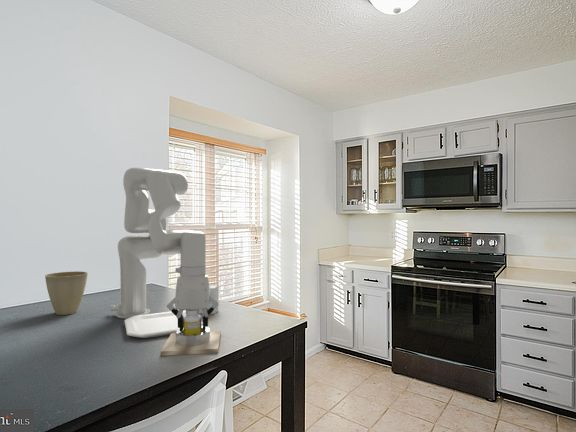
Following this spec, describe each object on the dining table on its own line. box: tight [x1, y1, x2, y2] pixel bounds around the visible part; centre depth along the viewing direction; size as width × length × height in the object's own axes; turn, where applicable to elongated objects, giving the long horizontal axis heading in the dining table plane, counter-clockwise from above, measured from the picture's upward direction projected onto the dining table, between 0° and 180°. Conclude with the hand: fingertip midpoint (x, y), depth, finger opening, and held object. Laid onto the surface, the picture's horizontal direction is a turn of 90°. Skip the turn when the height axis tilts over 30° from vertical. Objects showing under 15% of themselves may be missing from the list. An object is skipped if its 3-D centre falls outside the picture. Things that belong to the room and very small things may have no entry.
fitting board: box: [160, 330, 222, 357], centre depth 110 cm, size 16×16×1 cm
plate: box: [123, 310, 203, 339], centre depth 128 cm, size 25×25×2 cm
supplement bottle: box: [184, 310, 203, 335], centre depth 110 cm, size 5×5×10 cm
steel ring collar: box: [176, 325, 211, 346], centre depth 110 cm, size 10×10×3 cm
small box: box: [198, 285, 219, 315], centre depth 147 cm, size 8×6×10 cm
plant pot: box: [44, 270, 89, 316], centre depth 146 cm, size 15×15×16 cm
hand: (193, 328), depth 110 cm, fingers open, 6 cm apart
